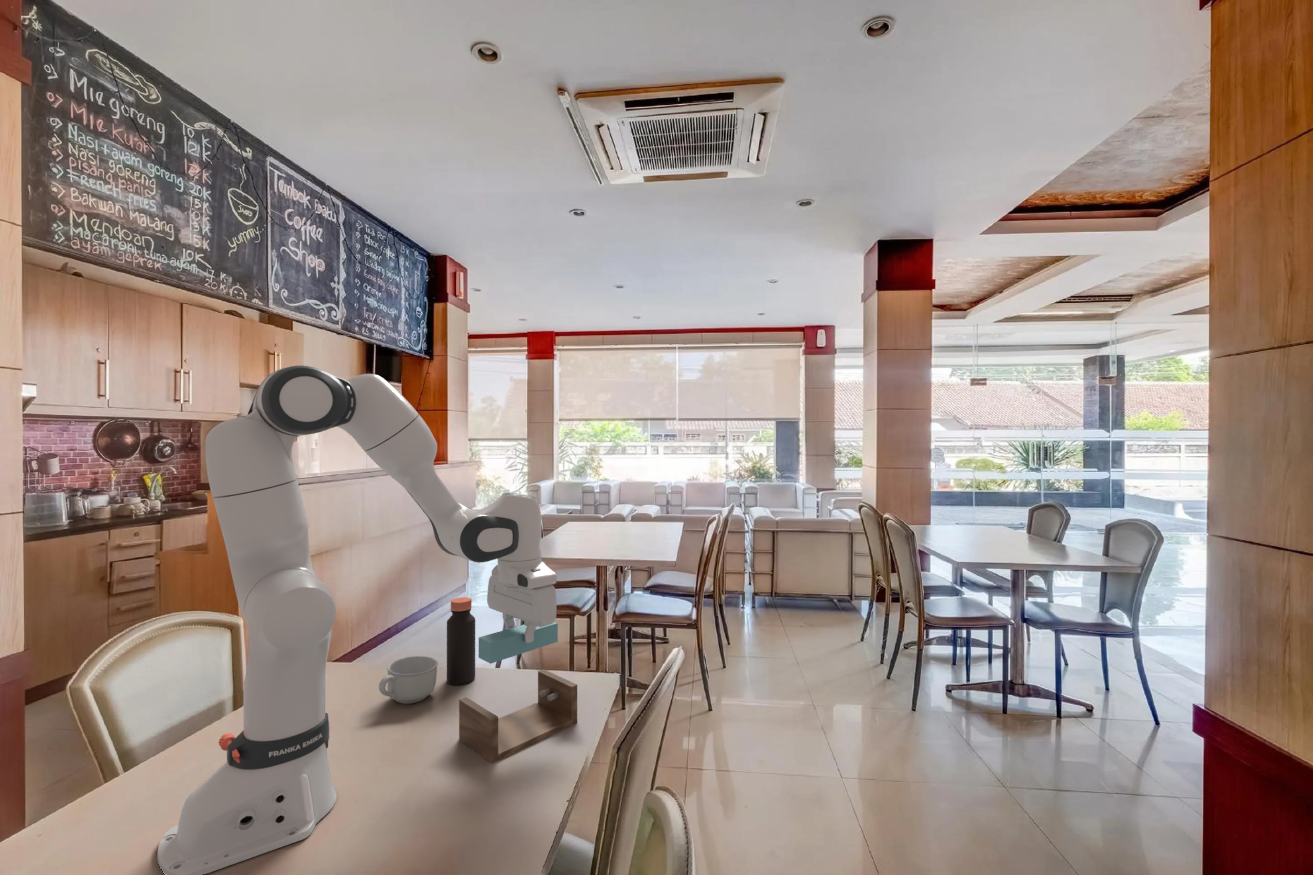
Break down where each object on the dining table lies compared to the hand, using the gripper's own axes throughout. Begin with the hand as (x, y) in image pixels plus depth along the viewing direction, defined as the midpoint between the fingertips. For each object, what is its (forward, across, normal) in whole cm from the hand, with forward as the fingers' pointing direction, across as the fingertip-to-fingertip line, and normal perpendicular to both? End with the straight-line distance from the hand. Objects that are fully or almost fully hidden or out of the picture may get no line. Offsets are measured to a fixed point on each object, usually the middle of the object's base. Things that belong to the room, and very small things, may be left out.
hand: (519, 638), depth 116 cm
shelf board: (+2, 0, 0) cm, 2 cm away
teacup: (+19, -31, -10) cm, 38 cm away
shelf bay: (+19, 0, 0) cm, 19 cm away
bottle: (+19, -32, +4) cm, 37 cm away
